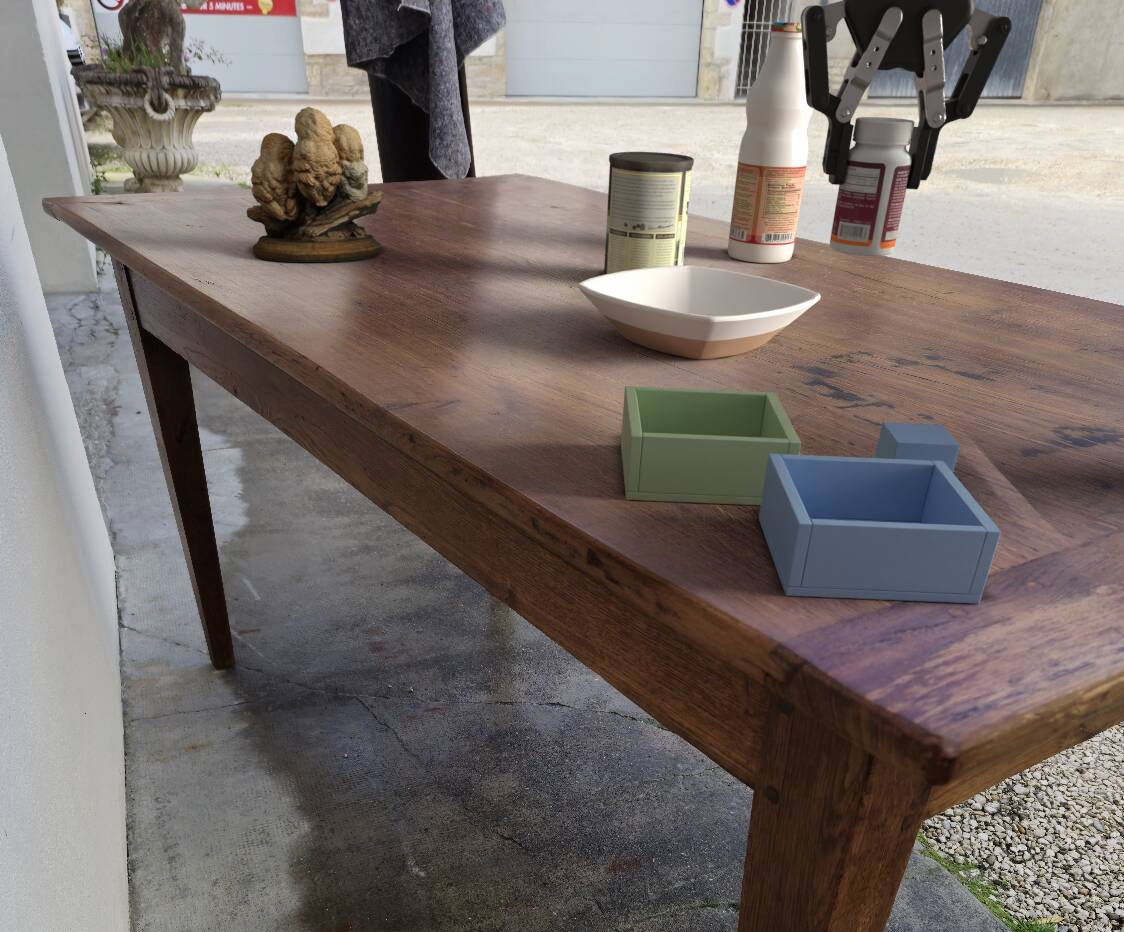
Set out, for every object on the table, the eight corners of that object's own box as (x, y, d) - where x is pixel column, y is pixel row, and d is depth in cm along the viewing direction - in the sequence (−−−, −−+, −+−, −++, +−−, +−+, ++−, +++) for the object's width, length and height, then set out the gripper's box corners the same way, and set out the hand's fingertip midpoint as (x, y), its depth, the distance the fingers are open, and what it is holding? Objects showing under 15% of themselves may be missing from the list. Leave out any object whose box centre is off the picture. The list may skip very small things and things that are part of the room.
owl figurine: (376, 244, 148) (368, 103, 138) (397, 260, 139) (390, 111, 129) (246, 248, 142) (228, 101, 132) (260, 265, 133) (241, 109, 123)
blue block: (927, 482, 78) (942, 424, 76) (944, 505, 75) (960, 444, 72) (869, 480, 78) (882, 421, 76) (883, 502, 75) (897, 442, 72)
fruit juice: (716, 258, 149) (743, 20, 133) (741, 249, 156) (770, 21, 140) (777, 267, 146) (813, 23, 129) (801, 257, 152) (837, 24, 136)
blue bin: (926, 526, 71) (943, 460, 69) (979, 604, 62) (1001, 531, 59) (758, 519, 71) (768, 453, 69) (785, 596, 62) (798, 523, 59)
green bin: (766, 450, 83) (775, 392, 80) (790, 507, 73) (801, 442, 71) (620, 444, 83) (624, 385, 80) (626, 500, 73) (630, 435, 70)
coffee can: (591, 273, 137) (597, 150, 129) (663, 272, 140) (674, 151, 131) (618, 290, 129) (627, 161, 121) (694, 288, 132) (708, 161, 124)
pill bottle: (875, 245, 79) (901, 117, 75) (904, 257, 76) (933, 123, 71) (817, 244, 79) (839, 114, 74) (843, 256, 75) (868, 121, 70)
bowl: (838, 348, 110) (847, 295, 107) (708, 383, 97) (715, 324, 94) (681, 308, 122) (686, 260, 119) (549, 335, 110) (550, 282, 107)
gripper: (829, -137, 62) (780, 187, 72) (1069, -123, 62) (988, 199, 72) (808, -123, 68) (766, 173, 78) (1026, -111, 68) (957, 184, 78)
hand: (873, 184), depth 75 cm, fingers closed on pill bottle, 4 cm apart
